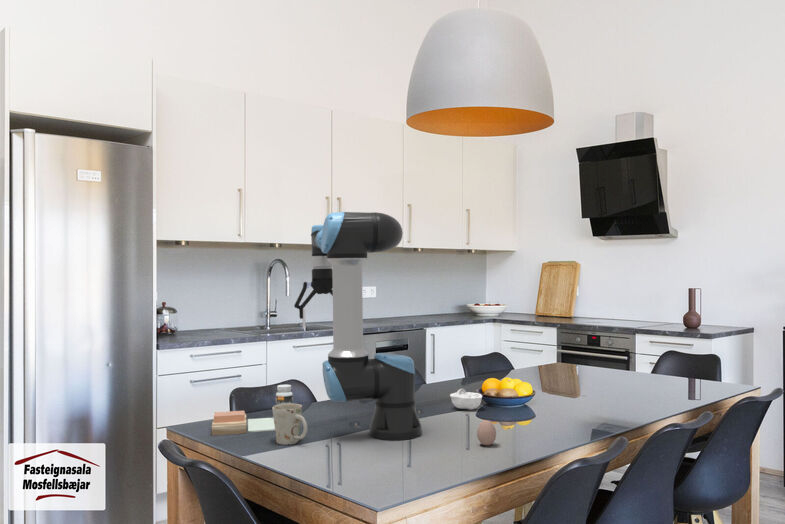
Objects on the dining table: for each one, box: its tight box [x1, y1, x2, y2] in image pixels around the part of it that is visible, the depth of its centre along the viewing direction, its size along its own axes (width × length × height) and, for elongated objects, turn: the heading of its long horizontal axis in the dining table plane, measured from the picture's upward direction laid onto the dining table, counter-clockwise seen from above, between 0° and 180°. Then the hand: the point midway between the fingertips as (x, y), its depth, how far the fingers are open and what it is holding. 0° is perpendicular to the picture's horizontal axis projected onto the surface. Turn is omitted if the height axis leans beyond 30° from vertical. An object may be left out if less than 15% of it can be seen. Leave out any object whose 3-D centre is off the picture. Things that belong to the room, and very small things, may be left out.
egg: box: [476, 419, 497, 447], centre depth 180 cm, size 5×5×7 cm
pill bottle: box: [275, 384, 294, 405], centre depth 221 cm, size 6×6×10 cm
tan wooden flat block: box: [211, 413, 248, 437], centre depth 204 cm, size 16×10×2 cm, turn 13°
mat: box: [247, 417, 275, 433], centre depth 208 cm, size 16×12×1 cm
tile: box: [213, 410, 246, 423], centre depth 204 cm, size 9×6×2 cm, turn 103°
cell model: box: [449, 388, 483, 411], centre depth 226 cm, size 10×12×7 cm
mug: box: [272, 402, 308, 446], centre depth 186 cm, size 8×13×10 cm, turn 51°
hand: (323, 327), depth 238 cm, fingers open, 13 cm apart
